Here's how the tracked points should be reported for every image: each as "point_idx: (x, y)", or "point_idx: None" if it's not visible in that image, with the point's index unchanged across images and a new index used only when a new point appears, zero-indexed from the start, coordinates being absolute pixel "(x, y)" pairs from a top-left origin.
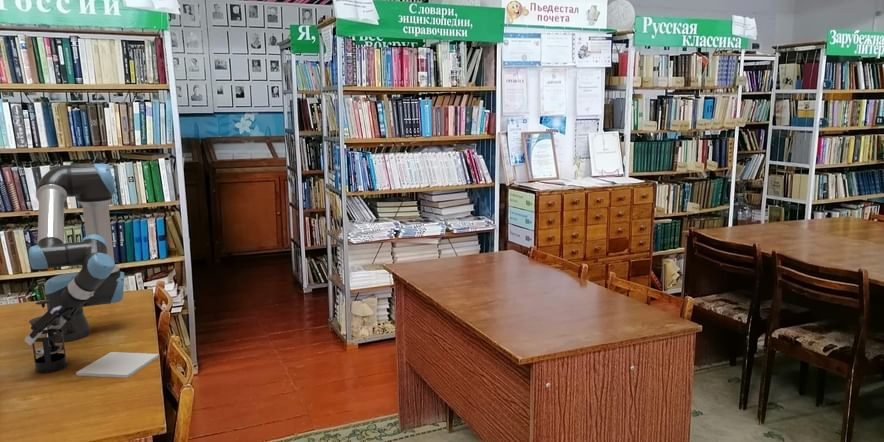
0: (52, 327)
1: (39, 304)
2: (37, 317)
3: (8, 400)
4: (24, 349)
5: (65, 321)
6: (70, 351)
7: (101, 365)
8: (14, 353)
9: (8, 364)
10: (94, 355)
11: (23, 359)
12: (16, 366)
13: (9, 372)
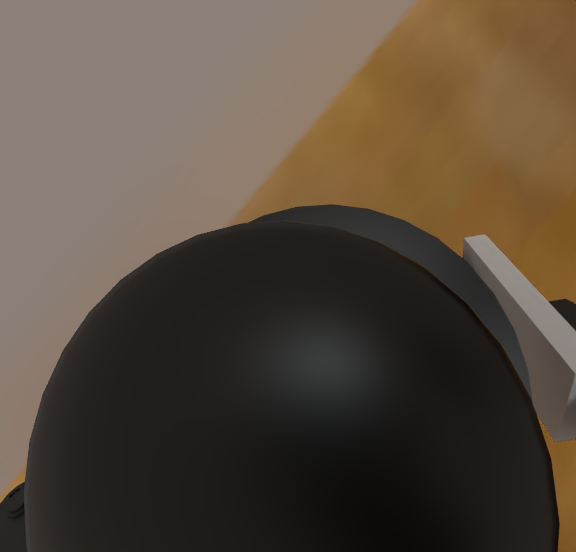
0: (479, 275)
1: (47, 548)
2: (350, 215)
3: (12, 485)
4: (476, 28)
5: (564, 436)
6: (548, 265)
7: None
8: (420, 35)
9: (310, 131)
10: (556, 455)
11: (377, 138)
12: (302, 185)
13: (241, 219)
